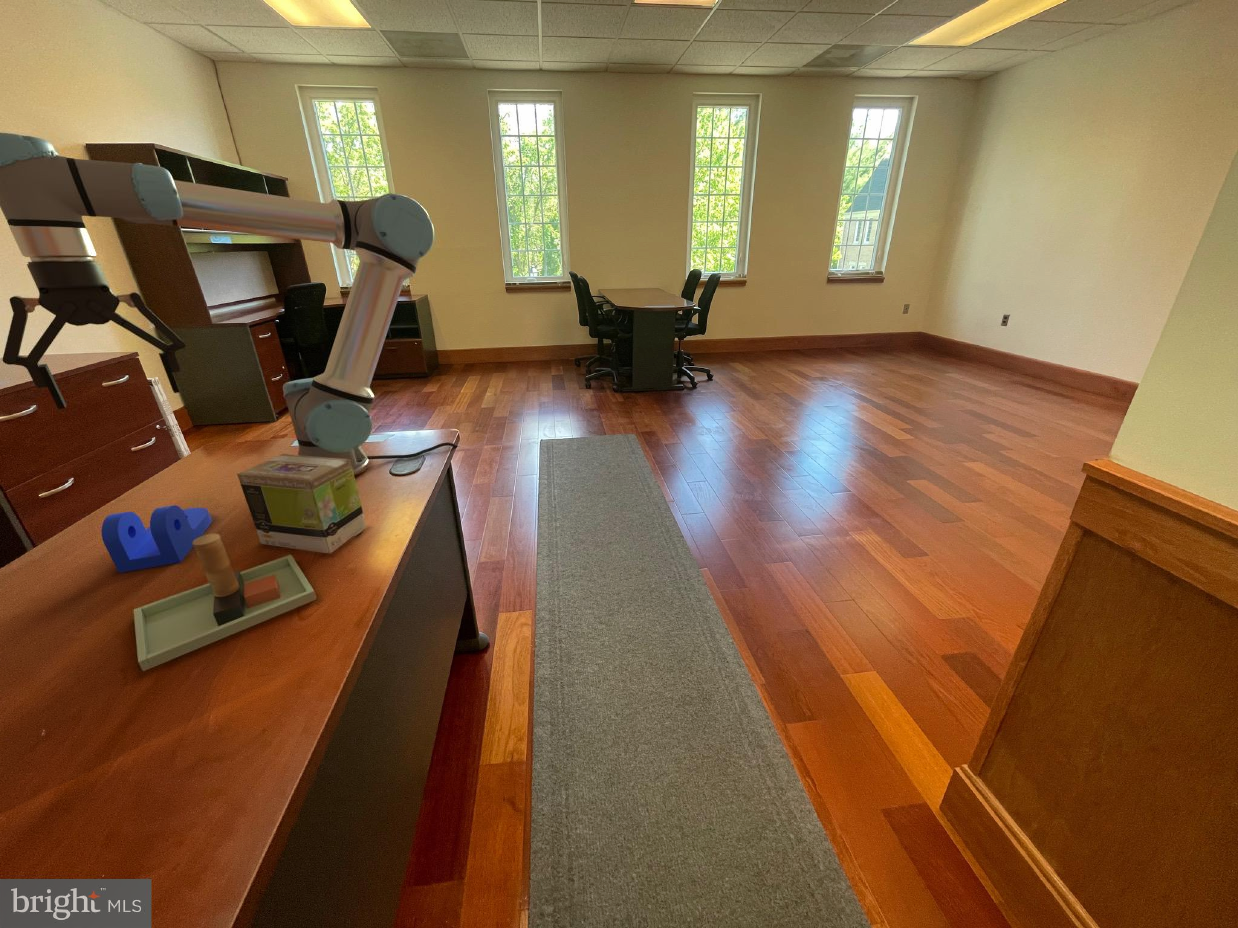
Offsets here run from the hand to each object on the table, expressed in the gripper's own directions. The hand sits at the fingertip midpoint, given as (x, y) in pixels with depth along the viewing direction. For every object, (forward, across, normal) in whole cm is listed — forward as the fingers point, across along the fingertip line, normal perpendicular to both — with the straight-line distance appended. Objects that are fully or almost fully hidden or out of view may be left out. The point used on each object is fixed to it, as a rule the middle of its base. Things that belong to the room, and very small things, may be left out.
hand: (122, 399), depth 79 cm
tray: (+27, -3, +32) cm, 42 cm away
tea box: (+27, -18, +18) cm, 37 cm away
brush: (+26, -4, +31) cm, 41 cm away
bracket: (+27, +1, +1) cm, 27 cm away
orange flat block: (+26, -7, +32) cm, 42 cm away
